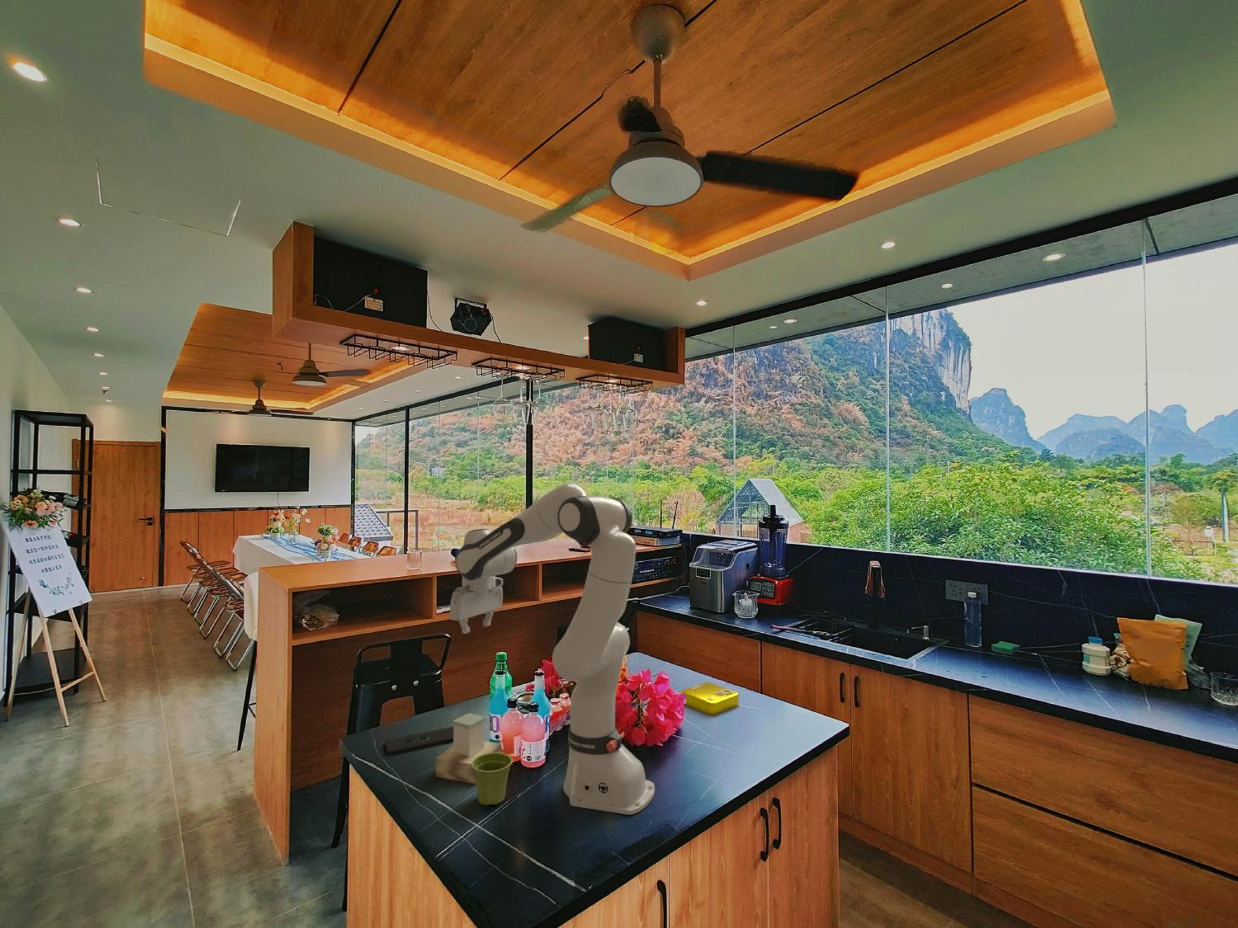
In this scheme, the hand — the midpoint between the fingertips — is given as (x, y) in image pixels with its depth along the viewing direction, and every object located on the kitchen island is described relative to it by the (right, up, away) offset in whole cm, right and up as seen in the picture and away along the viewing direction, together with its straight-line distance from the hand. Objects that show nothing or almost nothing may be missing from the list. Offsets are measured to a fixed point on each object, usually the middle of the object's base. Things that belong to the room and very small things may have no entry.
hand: (476, 629), depth 167 cm
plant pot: (+13, -30, -35) cm, 48 cm away
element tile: (+74, -33, +24) cm, 85 cm away
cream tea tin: (+3, -26, -21) cm, 33 cm away
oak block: (+3, -31, -21) cm, 37 cm away
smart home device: (-14, -32, -6) cm, 35 cm away
